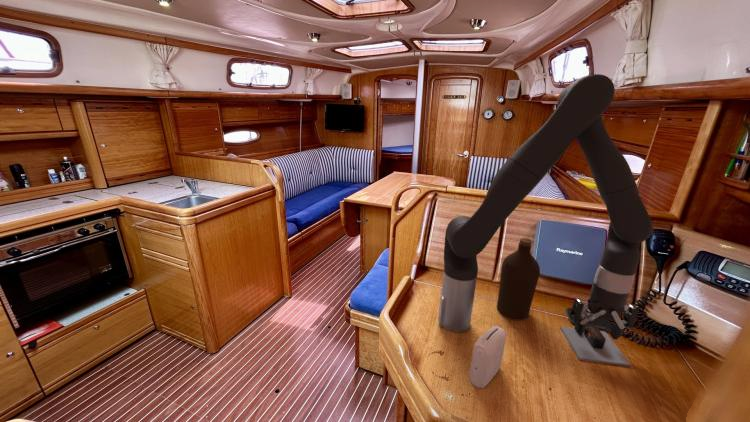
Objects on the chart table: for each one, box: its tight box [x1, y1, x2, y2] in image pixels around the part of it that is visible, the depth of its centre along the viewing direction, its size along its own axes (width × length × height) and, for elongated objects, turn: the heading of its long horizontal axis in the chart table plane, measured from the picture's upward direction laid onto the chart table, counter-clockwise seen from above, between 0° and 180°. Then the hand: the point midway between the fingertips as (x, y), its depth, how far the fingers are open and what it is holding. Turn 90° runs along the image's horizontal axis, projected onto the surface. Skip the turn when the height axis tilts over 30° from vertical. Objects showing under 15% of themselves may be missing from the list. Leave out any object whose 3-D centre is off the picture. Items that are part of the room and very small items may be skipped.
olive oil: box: [496, 237, 541, 321], centre depth 93 cm, size 11×11×25 cm
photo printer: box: [468, 325, 507, 389], centre depth 72 cm, size 10×4×12 cm, turn 133°
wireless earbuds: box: [573, 324, 606, 349], centre depth 84 cm, size 5×7×3 cm, turn 169°
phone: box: [565, 307, 629, 336], centre depth 92 cm, size 8×1×15 cm
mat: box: [560, 326, 631, 367], centre depth 83 cm, size 12×12×1 cm
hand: (595, 335), depth 82 cm, fingers open, 8 cm apart
